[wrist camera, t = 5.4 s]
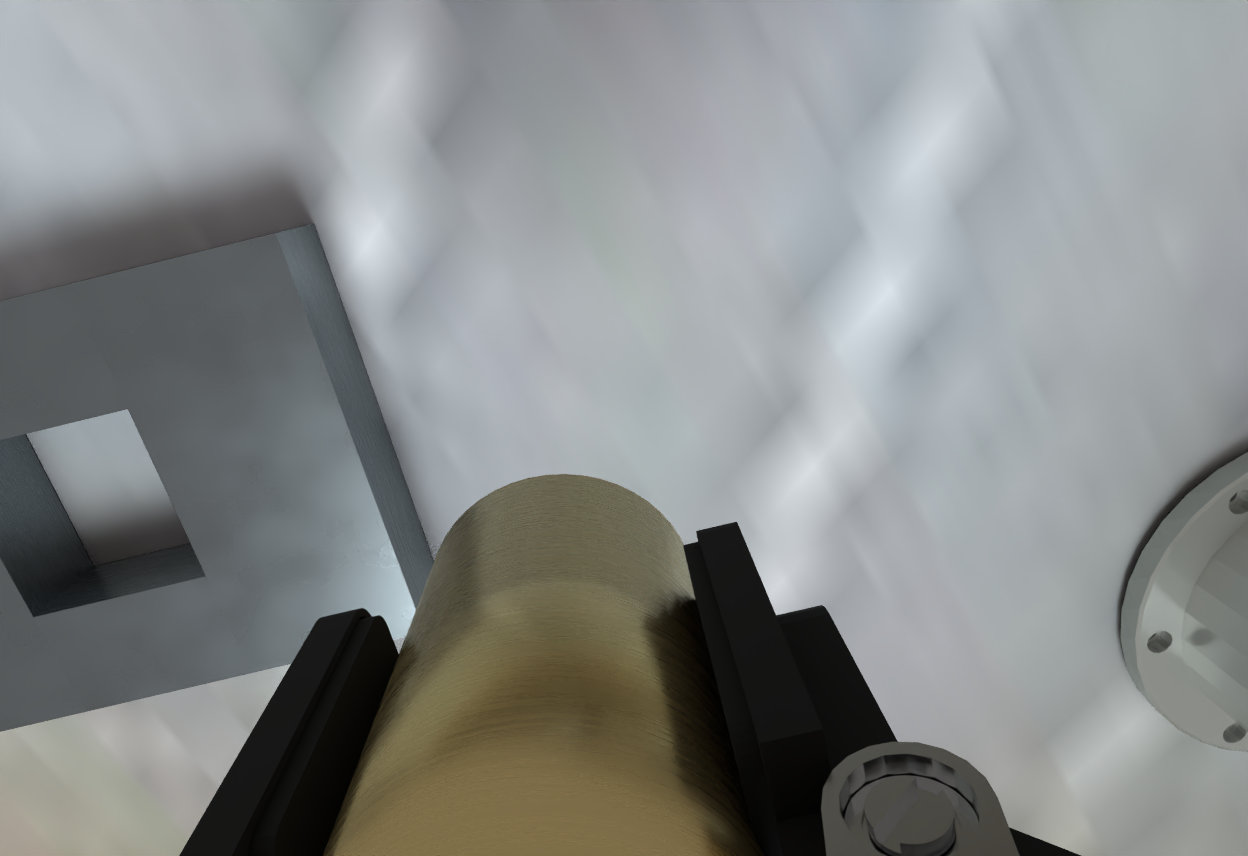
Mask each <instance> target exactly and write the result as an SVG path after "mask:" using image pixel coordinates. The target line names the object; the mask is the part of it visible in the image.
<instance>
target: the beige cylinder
mask: <svg viewBox="0 0 1248 856" xmlns="http://www.w3.org/2000/svg"><path fill="white" fill-rule="evenodd" d="M683 545H684V544H683V542H682V540H681V538H680V536H679V535H678V533H677V532H676V530H675V529H674V527H673V526H672V525H671V523H670V522H669V521H668V520H667V519H666V518H665V517H664V516H663V514H662V513H661V512H660V511H658V510H657V509H656V508H655V507H654V506H653V505H651V504H650V503H649V502H648V501H646V500H645V499H643V498H642V497H640V496H638V495H637V494H635V493H634V492H632V491H630V490H628V489H626V488H624V487H621V486H619V485H617V484H614V483H611V482H608V481H605V480H602V479H598V478H593V477H588V476H582V475H569V474H558V475H544V476H538V477H532V478H527V479H524V480H521V481H517V482H514V483H511V484H509V485H506V486H504V487H502V488H500V489H497V490H495V491H493V492H492V493H490V494H488V495H487V496H485V497H483V498H482V499H480V500H479V501H478V502H476V503H475V504H474V505H473V506H471V507H470V508H469V509H468V510H467V511H466V512H465V513H464V514H463V515H462V516H461V517H460V518H459V519H458V520H457V521H456V522H455V524H454V525H453V526H452V528H451V529H450V531H449V532H448V533H447V535H446V536H445V538H444V540H443V542H442V544H441V546H440V548H439V550H438V553H437V555H436V558H435V561H434V563H433V566H432V569H431V571H430V574H429V577H428V579H427V582H426V584H425V587H424V590H423V592H422V595H421V598H420V600H419V603H418V606H417V608H416V611H415V614H414V616H413V619H412V621H411V624H410V627H409V629H408V632H407V635H406V637H405V640H404V643H403V645H402V648H401V651H400V653H399V656H398V658H397V661H396V664H395V666H394V669H393V672H392V674H391V677H390V680H389V682H388V685H387V688H386V690H385V693H384V695H383V698H382V701H381V703H380V706H379V709H378V711H377V714H376V717H375V719H374V722H373V725H372V727H371V730H370V732H369V735H368V738H367V740H366V743H365V746H364V748H363V751H362V754H361V756H360V759H359V761H358V764H357V767H356V769H355V772H354V775H353V777H352V780H351V783H350V785H349V788H348V791H347V793H346V796H345V798H344V801H343V804H342V806H341V809H340V812H339V814H338V817H337V820H336V822H335V825H334V828H333V830H332V833H331V835H330V838H329V841H328V843H327V846H326V849H325V851H324V854H323V856H764V854H763V852H762V850H761V849H760V847H759V845H758V843H757V841H756V839H755V837H754V834H753V830H752V826H751V822H750V818H749V814H748V810H747V806H746V802H745V798H744V794H743V790H742V785H741V781H740V777H739V773H738V769H737V765H736V761H735V757H734V753H733V749H732V745H731V741H730V737H729V733H728V729H727V725H726V721H725V717H724V713H723V709H722V705H721V701H720V697H719V693H718V689H717V685H716V681H715V677H714V672H713V668H712V664H711V660H710V656H709V652H708V648H707V644H706V640H705V636H704V632H703V628H702V624H701V620H700V616H699V612H698V608H697V604H696V600H695V596H694V591H693V587H692V583H691V578H690V574H689V570H688V565H687V561H686V557H685V552H684V548H683Z"/></svg>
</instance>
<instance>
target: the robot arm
mask: <svg viewBox="0 0 1248 856" xmlns="http://www.w3.org/2000/svg"><path fill="white" fill-rule="evenodd" d="M696 533H697V538H698V542H695V543H691V544H687V545H683V548H684V552H685V557H686V561H687V565H688V570H689V574H690V578H691V583H692V587H693V591H694V596H695V600H696V604H697V608H698V612H699V616H700V620H701V624H702V628H703V632H704V636H705V640H706V644H707V648H708V652H709V656H710V660H711V664H712V668H713V672H714V677H715V681H716V685H717V689H718V693H719V697H720V701H721V705H722V709H723V713H724V717H725V721H726V725H727V729H728V733H729V737H730V741H731V745H732V749H733V753H734V757H735V761H736V765H737V769H738V773H739V777H740V781H741V785H742V790H743V794H744V798H745V802H746V806H747V810H748V814H749V818H750V822H751V826H752V830H753V834H754V837H755V839H756V841H757V843H758V845H759V847H760V849H761V850H762V852H763V854H764V856H1081V855H1078V854H1075V853H1073V852H1070V851H1068V850H1065V849H1063V848H1060V847H1058V846H1055V845H1053V844H1050V843H1047V842H1045V841H1042V840H1040V839H1037V838H1035V837H1032V836H1030V835H1027V834H1025V833H1022V832H1019V831H1017V830H1014V829H1012V828H1009V826H1008V824H1007V821H1006V818H1005V816H1004V813H1003V811H1002V808H1001V805H1000V803H999V800H998V797H997V796H996V794H995V792H994V791H993V789H992V787H991V786H990V784H989V782H988V781H987V779H986V777H985V776H983V775H982V774H981V773H980V772H979V771H978V770H977V769H976V768H974V767H973V766H972V765H971V764H970V763H969V762H968V761H966V760H964V759H962V758H960V757H958V756H957V755H955V754H953V753H951V752H949V751H947V750H945V749H942V748H938V747H934V746H930V745H926V744H922V743H918V742H898V741H897V740H896V738H895V736H894V734H893V732H892V730H891V728H890V726H889V725H888V723H887V721H886V719H885V717H884V715H883V713H882V712H881V710H880V708H879V706H878V704H877V702H876V700H875V698H874V697H873V695H872V693H871V691H870V689H869V687H868V685H867V683H866V682H865V680H864V678H863V676H862V674H861V672H860V670H859V668H858V667H857V665H856V663H855V661H854V659H853V657H852V655H851V654H850V652H849V650H848V648H847V646H846V644H845V642H844V640H843V639H842V637H841V635H840V633H839V631H838V629H837V627H836V625H835V624H834V622H833V620H832V618H831V616H830V614H829V613H828V611H827V610H826V608H825V607H824V606H822V605H821V606H816V607H812V608H807V609H803V610H798V611H794V612H790V613H785V614H781V615H775V612H774V610H773V607H772V605H771V603H770V600H769V598H768V595H767V593H766V591H765V588H764V586H763V583H762V581H761V578H760V576H759V574H758V571H757V569H756V566H755V564H754V562H753V559H752V557H751V554H750V552H749V550H748V547H747V545H746V542H745V540H744V538H743V535H742V533H741V530H740V528H739V526H738V523H737V522H734V523H729V524H725V525H721V526H716V527H712V528H708V529H703V530H699V531H696ZM1121 644H1122V649H1123V654H1124V659H1125V663H1126V667H1127V669H1128V671H1129V673H1130V675H1131V677H1132V679H1133V681H1134V683H1135V685H1136V687H1137V689H1138V690H1139V691H1140V692H1141V693H1142V695H1143V696H1144V697H1145V698H1146V699H1147V700H1148V702H1149V703H1150V704H1151V705H1152V706H1153V707H1154V708H1155V709H1156V710H1157V711H1158V712H1159V713H1160V714H1162V715H1163V716H1164V717H1165V718H1166V719H1167V720H1168V721H1169V722H1171V723H1172V724H1173V725H1174V726H1175V727H1176V728H1177V729H1178V730H1180V731H1182V732H1184V733H1186V734H1187V735H1189V736H1191V737H1193V738H1195V739H1197V740H1199V741H1200V742H1203V743H1206V744H1209V745H1212V746H1215V747H1218V748H1222V749H1226V750H1234V751H1245V752H1248V452H1247V453H1245V454H1243V455H1242V456H1240V457H1238V458H1236V459H1235V460H1233V461H1231V462H1230V463H1228V464H1226V465H1225V466H1223V467H1221V468H1220V469H1218V470H1217V471H1215V472H1214V473H1213V474H1212V475H1210V476H1209V477H1208V478H1207V479H1205V480H1204V481H1203V482H1202V483H1200V484H1199V485H1198V486H1197V487H1195V488H1194V489H1193V490H1192V491H1191V492H1189V493H1188V494H1187V495H1186V496H1185V497H1184V498H1183V499H1182V500H1181V502H1180V503H1179V504H1178V505H1177V506H1176V507H1175V508H1174V509H1173V510H1172V511H1171V512H1170V513H1169V515H1168V516H1167V517H1166V518H1165V519H1164V520H1163V521H1162V522H1161V524H1160V525H1159V527H1158V528H1157V530H1156V531H1155V533H1154V534H1153V536H1152V537H1151V539H1150V540H1149V542H1148V543H1147V545H1146V546H1145V548H1144V549H1143V551H1142V553H1141V555H1140V557H1139V559H1138V562H1137V564H1136V566H1135V568H1134V571H1133V573H1132V575H1131V577H1130V579H1129V582H1128V586H1127V590H1126V594H1125V598H1124V603H1123V607H1122V611H1121ZM398 656H399V654H398V651H397V649H396V646H395V643H394V641H393V638H392V636H391V633H390V630H389V628H388V625H387V623H386V621H385V620H384V618H383V617H382V616H380V615H377V616H373V617H372V616H371V615H370V613H369V612H368V611H367V610H366V609H364V608H360V609H355V610H351V611H346V612H342V613H338V614H333V615H329V616H325V617H321V618H319V619H318V620H317V621H316V623H315V624H314V626H313V628H312V630H311V631H310V633H309V635H308V636H307V638H306V640H305V641H304V643H303V645H302V647H301V648H300V650H299V652H298V653H297V655H296V657H295V659H294V660H293V662H292V664H291V665H290V667H289V669H288V671H287V672H286V674H285V676H284V677H283V679H282V681H281V683H280V684H279V686H278V688H277V689H276V691H275V693H274V695H273V696H272V698H271V700H270V701H269V703H268V705H267V707H266V708H265V710H264V712H263V713H262V715H261V717H260V719H259V720H258V722H257V724H256V725H255V727H254V729H253V730H252V732H251V734H250V736H249V737H248V739H247V741H246V742H245V744H244V746H243V748H242V749H241V751H240V753H239V754H238V756H237V758H236V760H235V761H234V763H233V765H232V766H231V768H230V770H229V772H228V773H227V775H226V777H225V778H224V780H223V782H222V784H221V785H220V787H219V789H218V790H217V792H216V794H215V796H214V797H213V799H212V801H211V802H210V804H209V806H208V808H207V809H206V811H205V813H204V814H203V816H202V818H201V819H200V821H199V823H198V825H197V826H196V828H195V830H194V831H193V833H192V835H191V837H190V838H189V840H188V842H187V843H186V845H185V847H184V849H183V850H182V852H181V854H180V855H179V856H323V854H324V851H325V849H326V846H327V843H328V841H329V838H330V835H331V833H332V830H333V828H334V825H335V822H336V820H337V817H338V814H339V812H340V809H341V806H342V804H343V801H344V798H345V796H346V793H347V791H348V788H349V785H350V783H351V780H352V777H353V775H354V772H355V769H356V767H357V764H358V761H359V759H360V756H361V754H362V751H363V748H364V746H365V743H366V740H367V738H368V735H369V732H370V730H371V727H372V725H373V722H374V719H375V717H376V714H377V711H378V709H379V706H380V703H381V701H382V698H383V695H384V693H385V690H386V688H387V685H388V682H389V680H390V677H391V674H392V672H393V669H394V666H395V664H396V661H397V658H398Z"/></svg>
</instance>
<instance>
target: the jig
mask: <svg viewBox="0 0 1248 856" xmlns="http://www.w3.org/2000/svg"><path fill="white" fill-rule="evenodd" d="M125 409H128V410H129V412H130V415H131V417H132V419H133V421H134V423H135V425H136V427H137V430H138V432H139V434H140V436H141V438H142V440H143V442H144V444H145V447H146V449H147V451H148V453H149V455H150V457H151V459H152V462H153V464H154V466H155V468H156V470H157V472H158V474H159V477H160V479H161V481H162V483H163V485H164V487H165V489H166V492H167V494H168V496H169V498H170V500H171V502H172V504H173V507H174V509H175V511H176V513H177V515H178V517H179V519H180V522H181V524H182V526H183V528H184V530H185V532H186V534H187V537H188V539H189V541H190V543H191V544H186V545H182V546H178V547H174V548H170V549H165V550H161V551H157V552H153V553H149V554H144V555H140V556H136V557H132V558H128V559H123V560H119V561H115V562H111V563H107V564H102V565H98V566H93V564H92V562H91V560H90V558H89V557H88V555H87V553H86V551H85V549H84V547H83V545H82V543H81V541H80V539H79V537H78V535H77V533H76V531H75V530H74V528H73V526H72V524H71V522H70V520H69V518H68V516H67V514H66V512H65V510H64V508H63V506H62V504H61V503H60V501H59V499H58V497H57V495H56V493H55V491H54V489H53V487H52V485H51V483H50V481H49V479H48V477H47V476H46V474H45V472H44V470H43V468H42V466H41V464H40V462H39V460H38V458H37V456H36V454H35V452H34V451H33V449H32V447H31V445H30V443H29V441H28V439H27V437H26V435H25V434H27V433H31V432H35V431H39V430H43V429H47V428H51V427H55V426H60V425H64V424H68V423H72V422H76V421H80V420H84V419H88V418H92V417H97V416H101V415H105V414H109V413H113V412H117V411H121V410H125ZM433 563H434V561H433V558H432V555H431V552H430V550H429V547H428V544H427V541H426V538H425V535H424V533H423V530H422V527H421V524H420V521H419V519H418V516H417V513H416V510H415V507H414V504H413V502H412V499H411V496H410V493H409V490H408V488H407V485H406V482H405V479H404V476H403V473H402V471H401V468H400V465H399V462H398V459H397V457H396V454H395V451H394V448H393V445H392V442H391V440H390V437H389V434H388V431H387V428H386V426H385V423H384V420H383V417H382V414H381V411H380V409H379V406H378V403H377V400H376V397H375V395H374V392H373V389H372V386H371V383H370V380H369V378H368V375H367V372H366V369H365V366H364V364H363V361H362V358H361V355H360V352H359V349H358V347H357V344H356V341H355V338H354V335H353V333H352V330H351V327H350V324H349V321H348V318H347V316H346V313H345V310H344V307H343V304H342V302H341V299H340V296H339V293H338V290H337V287H336V285H335V282H334V279H333V276H332V273H331V271H330V268H329V265H328V262H327V259H326V256H325V254H324V251H323V248H322V245H321V242H320V240H319V237H318V234H317V231H316V228H315V225H314V224H310V225H305V226H301V227H297V228H293V229H289V230H285V231H281V232H277V233H273V234H269V235H265V236H261V237H257V238H253V239H249V240H245V241H241V242H237V243H233V244H229V245H225V246H221V247H217V248H213V249H208V250H204V251H200V252H196V253H192V254H188V255H184V256H180V257H176V258H172V259H168V260H164V261H160V262H156V263H152V264H148V265H144V266H140V267H136V268H132V269H128V270H124V271H120V272H116V273H112V274H108V275H104V276H100V277H95V278H91V279H87V280H83V281H79V282H75V283H71V284H67V285H63V286H59V287H55V288H51V289H47V290H43V291H39V292H35V293H31V294H27V295H23V296H19V297H15V298H11V299H7V300H3V301H0V732H1V731H5V730H9V729H14V728H18V727H22V726H26V725H31V724H35V723H39V722H44V721H48V720H52V719H56V718H61V717H65V716H69V715H74V714H78V713H82V712H86V711H91V710H95V709H99V708H103V707H108V706H112V705H116V704H121V703H125V702H129V701H133V700H138V699H142V698H146V697H151V696H155V695H159V694H163V693H168V692H172V691H176V690H180V689H185V688H189V687H193V686H198V685H202V684H206V683H210V682H215V681H219V680H223V679H227V678H232V677H236V676H240V675H245V674H249V673H253V672H257V671H262V670H266V669H270V668H275V667H279V666H283V665H287V664H292V662H293V660H294V659H295V657H296V655H297V653H298V652H299V650H300V648H301V647H302V645H303V643H304V641H305V640H306V638H307V636H308V635H309V633H310V631H311V630H312V628H313V626H314V624H315V623H316V621H317V620H318V619H319V618H321V617H325V616H329V615H333V614H338V613H342V612H346V611H351V610H355V609H360V608H364V609H366V610H367V611H368V612H369V613H370V615H371V616H372V617H373V616H377V615H380V616H382V617H383V618H384V620H385V621H386V623H387V625H388V628H389V630H390V633H391V636H392V638H393V640H394V639H399V638H403V637H406V635H407V632H408V629H409V627H410V624H411V621H412V619H413V616H414V614H415V611H416V608H417V606H418V603H419V600H420V598H421V595H422V592H423V590H424V587H425V584H426V582H427V579H428V577H429V574H430V571H431V569H432V566H433Z"/></svg>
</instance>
